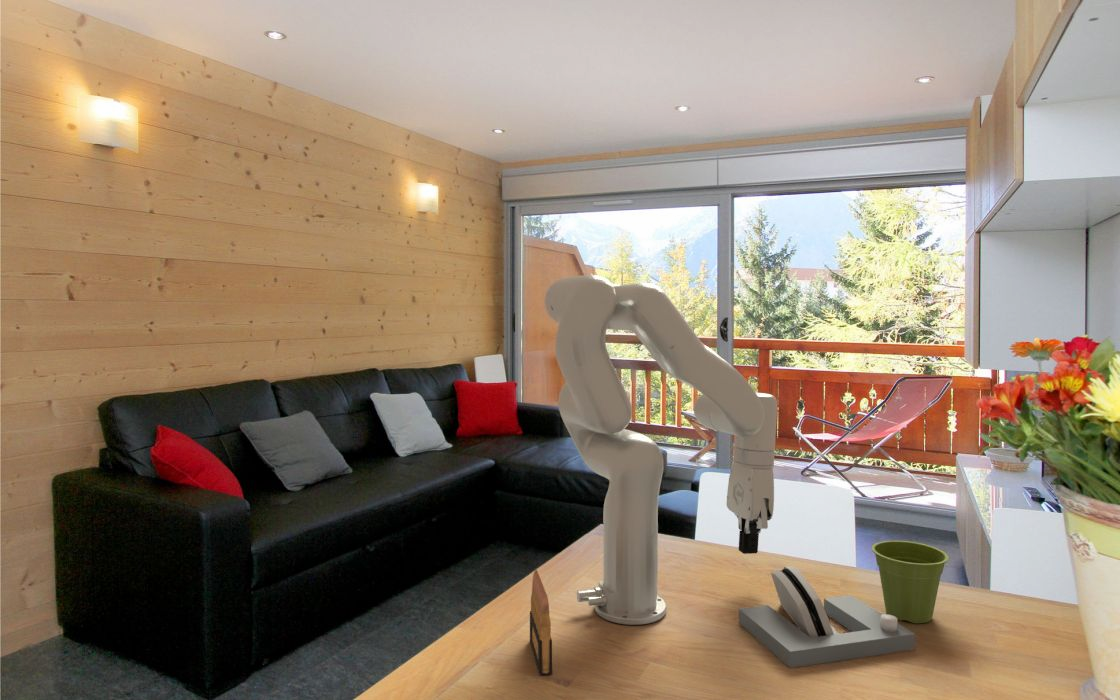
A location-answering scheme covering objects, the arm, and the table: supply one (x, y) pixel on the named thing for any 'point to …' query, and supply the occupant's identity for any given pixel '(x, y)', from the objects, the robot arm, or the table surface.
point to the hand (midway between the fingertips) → (748, 551)
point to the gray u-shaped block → (799, 649)
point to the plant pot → (909, 578)
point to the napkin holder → (540, 627)
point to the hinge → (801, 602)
